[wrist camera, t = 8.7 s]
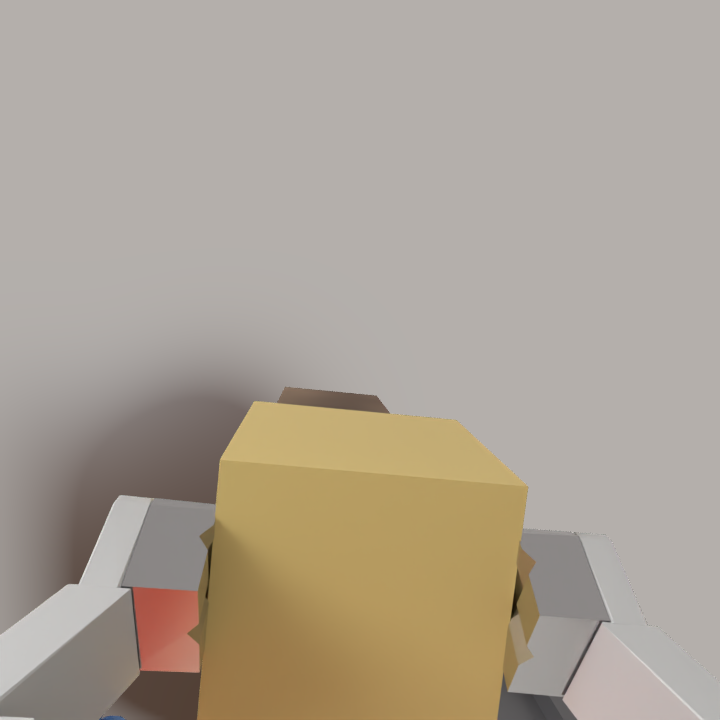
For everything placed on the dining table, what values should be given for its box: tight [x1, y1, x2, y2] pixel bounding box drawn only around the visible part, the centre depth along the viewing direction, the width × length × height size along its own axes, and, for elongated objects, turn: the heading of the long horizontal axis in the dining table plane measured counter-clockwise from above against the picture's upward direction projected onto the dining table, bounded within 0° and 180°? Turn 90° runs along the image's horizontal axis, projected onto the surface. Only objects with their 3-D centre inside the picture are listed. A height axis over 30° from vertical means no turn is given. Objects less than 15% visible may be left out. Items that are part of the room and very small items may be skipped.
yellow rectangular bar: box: [197, 401, 528, 720], centre depth 18 cm, size 4×17×4 cm, turn 3°
